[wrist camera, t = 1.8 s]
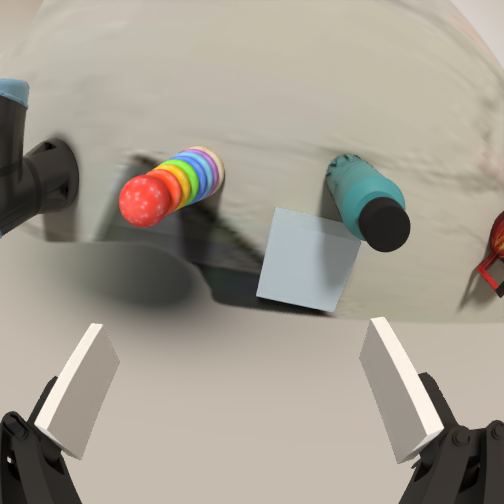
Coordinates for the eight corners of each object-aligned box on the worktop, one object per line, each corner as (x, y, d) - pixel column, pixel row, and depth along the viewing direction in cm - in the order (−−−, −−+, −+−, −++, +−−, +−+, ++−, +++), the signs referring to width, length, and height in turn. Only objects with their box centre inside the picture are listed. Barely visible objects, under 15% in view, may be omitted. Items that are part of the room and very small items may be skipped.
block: (275, 206, 40) (272, 221, 34) (353, 225, 39) (361, 242, 34) (261, 274, 45) (256, 295, 40) (330, 289, 45) (333, 311, 39)
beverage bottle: (356, 144, 33) (414, 173, 16) (374, 186, 36) (433, 250, 18) (315, 162, 36) (333, 207, 18) (335, 203, 38) (363, 280, 20)
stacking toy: (236, 176, 38) (189, 224, 22) (197, 206, 41) (135, 267, 25) (203, 134, 36) (132, 152, 20) (166, 167, 39) (87, 207, 23)
